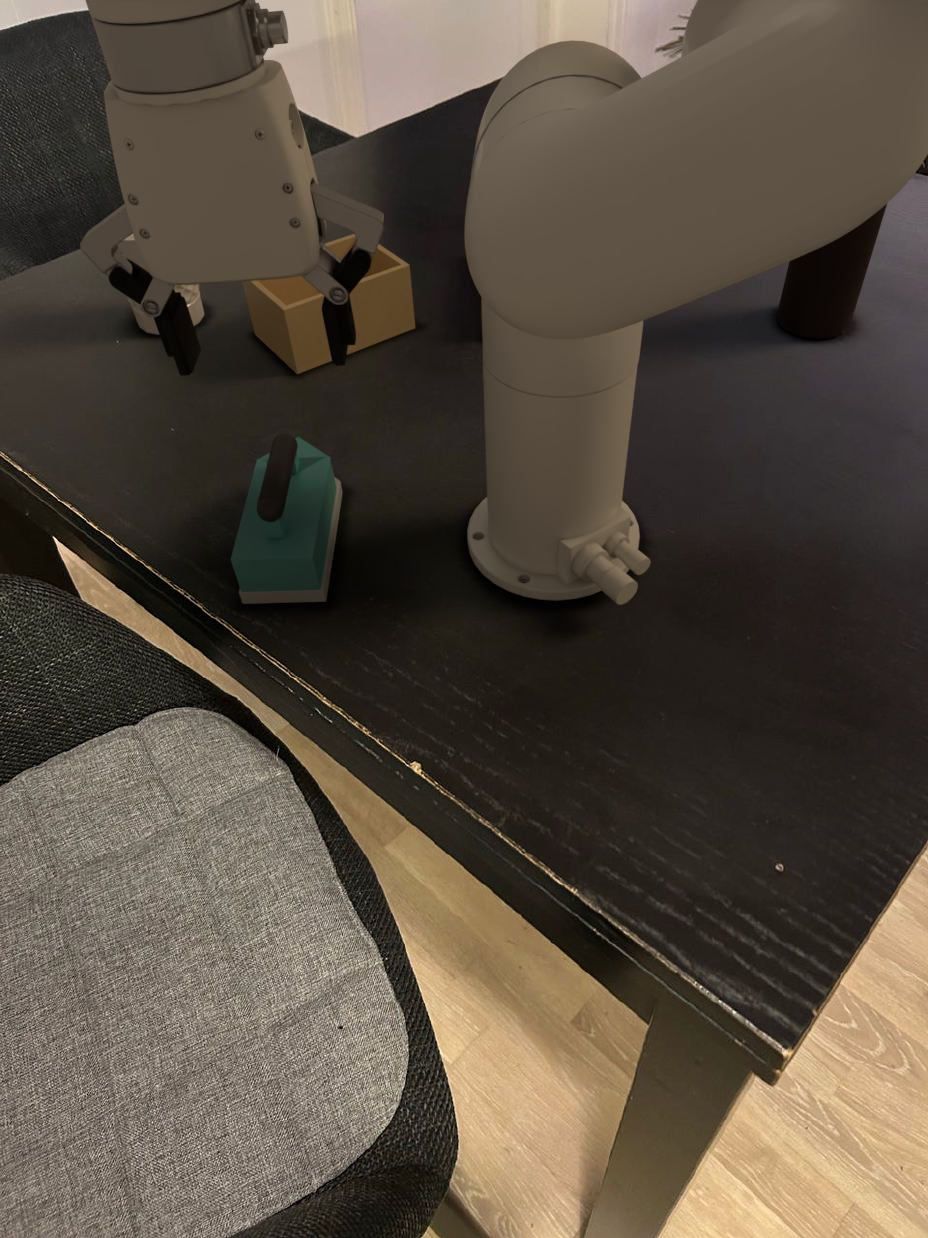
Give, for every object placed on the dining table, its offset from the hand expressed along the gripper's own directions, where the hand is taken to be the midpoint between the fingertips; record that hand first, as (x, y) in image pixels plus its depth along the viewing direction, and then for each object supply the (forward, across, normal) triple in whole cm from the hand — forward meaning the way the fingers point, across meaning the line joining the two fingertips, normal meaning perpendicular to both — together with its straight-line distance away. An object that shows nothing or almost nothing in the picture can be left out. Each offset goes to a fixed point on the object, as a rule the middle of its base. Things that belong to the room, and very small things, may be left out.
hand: (266, 358), depth 55 cm
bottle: (+16, -45, -28) cm, 56 cm away
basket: (+15, +1, -30) cm, 34 cm away
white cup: (+15, +19, -34) cm, 42 cm away
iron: (+15, +1, -1) cm, 15 cm away
